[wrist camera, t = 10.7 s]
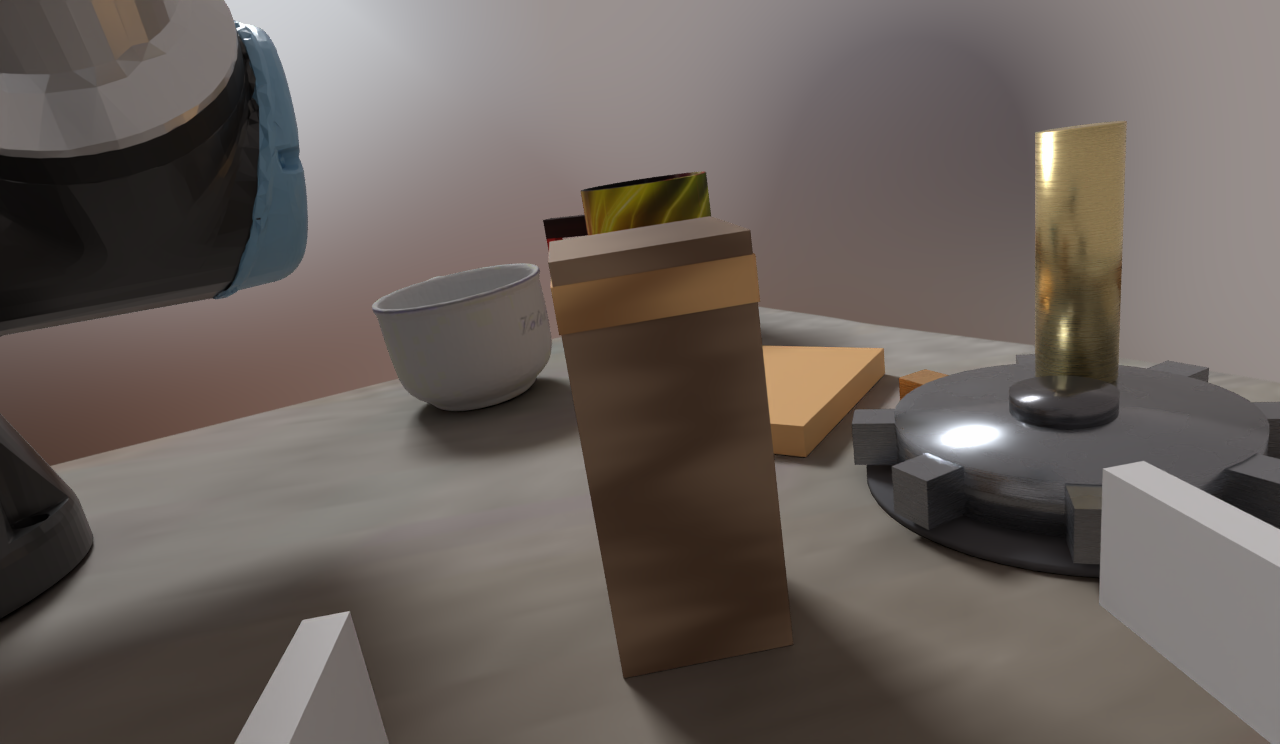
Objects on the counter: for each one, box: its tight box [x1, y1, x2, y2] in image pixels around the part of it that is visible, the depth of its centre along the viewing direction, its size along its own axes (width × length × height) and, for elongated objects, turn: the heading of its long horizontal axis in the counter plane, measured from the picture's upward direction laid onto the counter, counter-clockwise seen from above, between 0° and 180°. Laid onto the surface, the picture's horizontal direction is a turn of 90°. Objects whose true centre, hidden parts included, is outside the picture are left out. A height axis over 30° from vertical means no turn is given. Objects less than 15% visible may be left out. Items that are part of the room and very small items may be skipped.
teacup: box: [372, 264, 552, 411], centre depth 51 cm, size 14×11×8 cm
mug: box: [543, 172, 711, 250], centre depth 59 cm, size 10×14×12 cm
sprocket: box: [852, 121, 1280, 564], centre depth 27 cm, size 15×15×12 cm
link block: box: [548, 216, 793, 678], centre depth 22 cm, size 5×5×12 cm
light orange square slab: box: [762, 346, 885, 457], centre depth 42 cm, size 12×12×2 cm
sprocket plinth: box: [867, 465, 1100, 578], centre depth 29 cm, size 14×14×1 cm
